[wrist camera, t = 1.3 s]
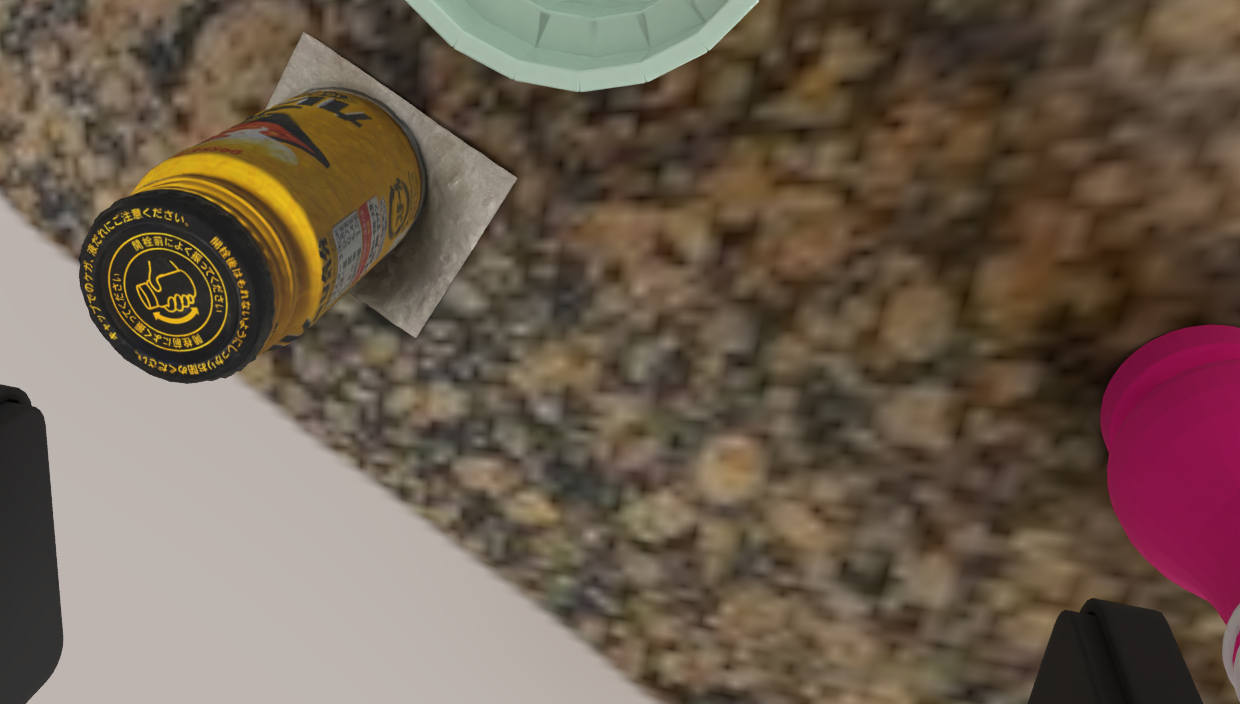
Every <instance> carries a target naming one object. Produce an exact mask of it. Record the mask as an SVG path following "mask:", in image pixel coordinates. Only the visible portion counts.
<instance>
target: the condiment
mask: <svg viewBox="0 0 1240 704" xmlns="http://www.w3.org/2000/svg"><path fill="white" fill-rule="evenodd" d="M516 180H517V177H515V176H513V175H512V174H511V173H509V172H508V171H506V170H505V169H503V168H501V167H500V166H498V165H497V164H495V163H494V162H492V161H491V160H490V159H488V158H487V157H486V156H485V155H483V154H482V153H480V152H479V151H477V150H475V149H474V148H472V147H470V146H469V145H467V144H466V143H464V142H463V141H462V140H461V139H459V138H458V137H456V136H455V135H453V134H452V133H451V132H449V131H448V130H446V129H444V128H443V127H441V126H440V125H438V124H437V123H436V122H435V121H433V120H432V119H430V118H429V117H427V116H426V115H425V114H423V113H422V112H421V111H419V110H418V109H416V108H415V107H414V106H413V105H411V104H410V103H408V102H407V101H406V100H404V99H403V98H401V97H400V96H398V95H397V94H396V93H394V92H393V91H391V90H389V89H388V88H387V87H385V86H384V85H382V84H380V83H379V82H378V81H376V80H375V79H374V78H372V77H371V76H369V75H368V74H366V73H365V72H363V71H362V70H360V69H359V68H358V67H356V66H355V65H353V64H352V63H350V62H349V61H347V60H346V59H344V58H342V57H341V56H339V55H338V54H337V53H336V52H334V51H333V50H331V49H330V48H328V47H327V46H326V45H324V44H322V43H321V42H319V41H318V40H316V39H315V38H313V37H311V36H309V35H307V34H306V33H304V32H303V34H302V36H301V38H300V40H299V42H298V44H297V46H296V48H295V50H294V52H293V54H292V56H291V58H290V60H289V62H288V65H287V67H286V69H285V70H284V72H283V74H282V76H281V79H280V81H279V83H278V85H277V87H276V89H275V91H274V93H273V95H272V97H271V99H270V101H269V103H268V105H267V107H266V109H265V110H264V111H262V112H260V113H258V114H256V115H254V116H250V117H249V118H248V119H246V120H245V121H244V122H242V123H240V124H238V125H236V126H233V127H231V128H230V129H228V130H226V131H224V132H222V133H220V134H218V135H216V136H214V137H211V138H210V139H208V140H206V141H204V142H202V143H200V144H198V145H196V146H193V147H191V148H188V149H186V150H183V151H181V152H180V153H178V154H176V155H174V156H173V157H171V158H169V159H167V160H166V161H164V162H162V163H161V164H159V165H158V166H156V167H154V168H153V169H152V170H150V171H149V172H148V173H147V174H146V175H145V176H144V177H143V179H142V180H141V181H140V183H139V184H138V185H137V187H136V188H135V190H134V191H133V192H132V193H131V195H130V196H128V197H126V198H122V199H120V200H118V201H116V202H114V203H113V204H112V205H111V207H110V208H108V209H106V210H104V211H103V212H101V213H100V214H99V216H98V217H97V218H96V219H95V221H94V223H93V225H92V227H91V228H90V231H89V233H88V235H87V236H86V238H85V240H84V243H83V245H82V249H81V254H80V256H79V262H80V271H79V279H80V287H81V290H82V293H83V296H84V300H85V303H86V305H87V307H88V310H89V314H90V317H91V319H92V321H93V322H94V323H95V325H96V326H97V328H98V329H99V331H100V332H101V333H102V335H103V336H104V337H105V339H107V340H108V341H109V342H110V344H111V345H112V346H113V347H114V349H115V350H116V351H117V352H118V353H119V354H121V355H122V357H123V358H124V359H126V360H127V361H129V362H130V363H132V364H134V365H135V366H137V367H139V368H140V369H142V370H144V371H145V372H147V373H148V374H150V375H153V376H155V377H158V378H162V379H164V380H167V381H169V382H179V383H186V384H188V383H197V382H202V381H207V380H208V381H213V380H217V379H219V378H227V377H229V376H231V375H233V374H234V373H235V372H237V371H241V370H242V369H243V368H244V367H246V365H247V364H248V363H250V362H252V361H254V360H255V359H256V356H258V355H260V354H264V353H268V352H271V351H275V350H276V349H278V348H281V347H283V346H285V345H288V344H289V343H290V342H292V341H293V340H296V339H298V338H299V336H300V335H302V334H303V332H304V331H305V330H307V329H308V328H309V327H310V326H311V325H313V324H314V323H315V322H316V321H317V320H318V319H319V318H320V317H321V316H322V315H323V314H324V313H325V312H326V311H327V310H328V309H329V308H330V307H332V306H333V305H334V304H335V303H336V302H337V301H338V300H339V299H340V298H341V297H342V296H343V295H344V294H345V293H346V292H347V291H348V292H349V293H351V294H352V295H353V296H355V297H356V298H357V299H359V300H361V301H363V302H365V303H366V304H367V305H369V306H370V307H372V308H373V309H375V310H376V311H378V312H379V313H380V314H381V315H383V316H384V317H385V318H387V319H388V320H389V321H390V322H392V323H393V324H395V325H396V326H398V327H400V328H401V329H403V330H404V331H406V332H407V333H409V334H410V335H412V336H413V337H415V338H416V337H417V335H418V334H419V332H420V331H421V329H422V328H423V326H424V325H425V323H426V321H427V320H428V318H429V317H430V315H431V314H432V312H433V311H434V309H435V307H436V306H437V304H438V303H439V301H440V300H441V298H442V297H443V295H444V293H445V292H446V290H447V288H448V287H449V286H450V284H451V283H452V281H453V279H454V278H455V276H456V274H457V273H458V271H459V270H460V268H461V267H462V265H463V264H464V262H465V260H466V259H467V257H468V256H469V254H470V253H471V251H472V250H473V248H474V247H475V245H476V244H477V242H478V240H479V238H480V237H481V235H482V234H483V232H484V230H485V229H486V227H487V226H488V224H489V222H490V221H491V219H492V218H493V216H494V215H495V213H496V212H497V210H498V208H499V207H500V205H501V204H502V202H503V200H504V199H505V197H506V196H507V194H508V192H509V191H510V189H511V188H512V186H513V184H514V183H515V181H516Z"/></svg>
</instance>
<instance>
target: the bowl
mask: <svg viewBox="0 0 1240 704" xmlns="http://www.w3.org/2000/svg"><path fill="white" fill-rule="evenodd" d="M405 1H406V2H407V3H408V4H409V5H410V6H411V7H412V8H413V9H414V10H415V11H416V12H417V13H418V14H419V15H420V16H421V17H422V18H423V19H424V20H425V21H426V22H427V23H428V24H429V25H430V26H431V27H432V28H433V29H434V30H435V31H436V32H437V33H438V34H439V35H440V36H441V37H442V38H443V39H444V40H445V41H446V42H447V43H448V44H449V45H450V46H451V47H454V49H455V50H457V51H459V52H461V53H463V54H465V55H466V56H468V57H470V58H472V59H474V60H476V61H478V62H480V63H481V64H483V65H485V66H487V67H489V68H491V69H493V70H495V71H496V72H498V73H500V74H502V75H504V76H506V77H508V78H510V79H514V80H515V81H519V82H524V83H530V84H535V85H541V86H546V87H552V88H557V89H563V90H568V91H574V92H579V91H580V92H587V91H594V90H601V89H608V88H615V87H622V86H629V85H636V84H643V83H645V82H649V81H651V80H653V79H655V78H657V77H659V76H661V75H663V74H665V73H667V72H669V71H671V70H673V69H675V68H677V67H679V66H681V65H683V64H685V63H687V62H689V61H691V60H693V59H695V58H697V57H699V56H701V55H703V54H705V53H707V51H709V50H711V49H712V48H713V47H714V46H715V45H716V44H717V43H718V42H719V41H720V40H721V39H722V38H723V37H724V36H725V35H726V34H727V33H728V32H729V31H730V30H731V29H732V28H733V27H734V26H735V25H736V24H737V23H738V22H739V21H740V20H741V19H742V18H743V17H744V16H745V15H746V14H747V13H748V12H749V11H750V10H751V9H752V8H753V7H754V6H755V5H756V4H757V3H758V2H759V0H405Z"/></svg>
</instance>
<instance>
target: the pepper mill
mask: <svg viewBox="0 0 1240 704" xmlns="http://www.w3.org/2000/svg"><path fill="white" fill-rule="evenodd" d="M1100 420H1101V432H1102V436H1103V439H1104V442H1105V444H1106V447H1107V450H1108V452H1109V460H1108V467H1107V480H1108V491H1109V495H1110V499H1111V503H1112V507H1113V509H1114V511H1115V513H1116V515H1117V517H1118V519H1119V521H1120V523H1121V525H1122V527H1123V529H1124V531H1125V532H1126V534H1127V536H1128V538H1129V540H1130V542H1131V543H1132V544H1133V545H1134V547H1135V548H1136V549H1137V550H1138V551H1139V552H1140V554H1141V555H1142V556H1143V557H1144V558H1145V559H1146V560H1147V561H1148V562H1149V563H1150V564H1152V565H1153V566H1154V567H1155V568H1156V569H1157V570H1158V571H1159V572H1161V573H1162V574H1163V575H1164V576H1165V577H1166V578H1168V579H1169V580H1171V581H1173V582H1174V583H1176V584H1177V585H1179V586H1181V587H1182V588H1184V589H1186V590H1188V591H1189V592H1191V593H1193V594H1195V595H1197V596H1199V597H1200V598H1203V599H1205V600H1207V601H1208V602H1210V603H1211V604H1212V605H1213V606H1214V607H1215V608H1216V610H1217V612H1218V613H1219V615H1220V616H1221V618H1222V619H1223V621H1224V622H1225V624H1226V625H1227V627H1226V630H1225V634H1224V637H1223V651H1222V655H1223V662H1224V667H1225V669H1226V672H1227V674H1228V677H1229V679H1230V681H1231V683H1232V684H1233V686H1234V688H1235V690H1236V695H1237V697H1238V699H1239V702H1240V328H1237V327H1234V326H1225V325H1202V326H1194V327H1187V328H1183V329H1179V330H1175V331H1172V332H1169V333H1167V334H1165V335H1163V336H1161V337H1158V338H1156V339H1154V340H1152V341H1150V342H1148V343H1146V344H1145V345H1144V346H1142V347H1141V348H1139V349H1138V350H1137V351H1136V352H1134V353H1133V354H1132V355H1130V356H1129V357H1128V358H1127V359H1126V360H1125V361H1124V362H1123V363H1122V365H1121V366H1120V367H1119V368H1118V370H1117V371H1116V372H1115V374H1114V375H1113V377H1112V379H1111V380H1110V382H1109V384H1108V386H1107V388H1106V391H1105V393H1104V396H1103V400H1102V406H1101V412H1100Z"/></svg>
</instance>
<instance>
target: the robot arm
mask: <svg viewBox="0 0 1240 704" xmlns="http://www.w3.org/2000/svg"><path fill="white" fill-rule="evenodd" d="M62 648H63V628H62V617H61V605H60V592H59V580H58V569H57V557H56V544H55V533H54V520H53V510H52V497H51V485H50V473H49V461H48V449H47V437H46V425H45V420H44V416H43V414H42V413H41V411H40V410H39V409H37V408H36V407H32V405H31V401H30V399H29V398H28V396H27V394H26V393H25V392H24V391H22V390H20V389H19V388H16V387H11V386H6V385H0V704H26V703H27V702H28V700H29V699H30V698H31V697H32V696H33V695H34V694H35V693H36V692H37V691H38V690H39V689H40V688H41V687H42V685H44V683H45V682H46V681H47V680H48V679H49V678H50V676H51V675H52V673H53V672H54V670H55V668H56V666H57V664H58V661H59V659H60V656H61V652H62ZM1028 704H1203V702H1202V700H1201V698H1200V695H1199V693H1198V691H1197V689H1196V686H1195V684H1194V682H1193V679H1192V677H1191V675H1190V673H1189V670H1188V668H1187V666H1186V663H1185V661H1184V659H1183V657H1182V654H1181V652H1180V650H1179V648H1178V645H1177V643H1176V641H1175V638H1174V636H1173V634H1172V632H1171V629H1170V627H1169V625H1168V622H1167V620H1166V619H1165V617H1164V616H1163V614H1162V613H1161V612H1158V611H1156V610H1151V609H1146V608H1140V607H1135V606H1130V605H1125V604H1120V603H1115V602H1110V601H1105V600H1100V599H1094V598H1092V599H1090V600H1087V601H1086V603H1085V604H1084V606H1083V607H1082V608H1081V611H1080V613H1078V612H1073V611H1068V610H1064V611H1062V612H1061V613H1060V615H1059V616H1058V618H1057V620H1056V623H1055V625H1054V628H1053V631H1052V634H1051V637H1050V640H1049V643H1048V645H1047V648H1046V651H1045V654H1044V657H1043V660H1042V663H1041V666H1040V669H1039V672H1038V675H1037V678H1036V681H1035V684H1034V687H1033V690H1032V692H1031V695H1030V698H1029V701H1028Z"/></svg>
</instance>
